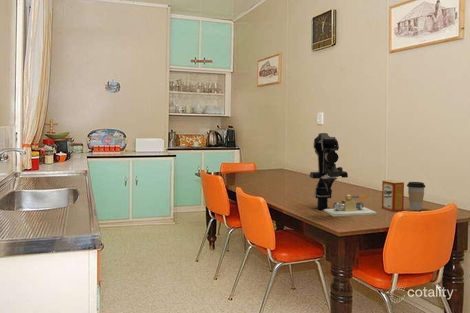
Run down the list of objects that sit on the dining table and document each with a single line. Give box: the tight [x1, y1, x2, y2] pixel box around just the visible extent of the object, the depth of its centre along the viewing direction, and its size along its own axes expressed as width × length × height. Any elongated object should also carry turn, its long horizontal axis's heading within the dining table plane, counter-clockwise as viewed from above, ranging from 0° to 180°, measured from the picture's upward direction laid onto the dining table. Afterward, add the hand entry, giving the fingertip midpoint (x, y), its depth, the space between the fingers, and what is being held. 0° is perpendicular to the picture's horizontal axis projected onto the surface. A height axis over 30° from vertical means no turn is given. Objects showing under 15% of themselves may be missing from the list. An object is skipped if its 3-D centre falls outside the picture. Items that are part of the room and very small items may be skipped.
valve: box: [332, 198, 365, 211], centre depth 219 cm, size 16×5×6 cm, turn 99°
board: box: [323, 206, 377, 218], centre depth 218 cm, size 13×24×1 cm, turn 99°
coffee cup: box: [406, 181, 426, 212], centre depth 224 cm, size 9×9×15 cm
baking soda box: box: [381, 179, 405, 212], centre depth 225 cm, size 10×6×16 cm
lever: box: [344, 193, 368, 200], centre depth 219 cm, size 12×3×2 cm, turn 92°
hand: (328, 191), depth 211 cm, fingers closed
